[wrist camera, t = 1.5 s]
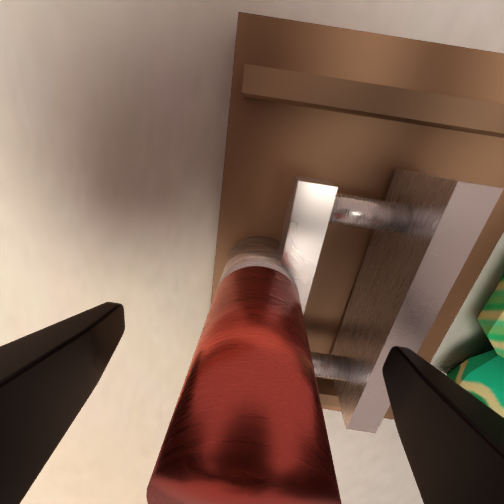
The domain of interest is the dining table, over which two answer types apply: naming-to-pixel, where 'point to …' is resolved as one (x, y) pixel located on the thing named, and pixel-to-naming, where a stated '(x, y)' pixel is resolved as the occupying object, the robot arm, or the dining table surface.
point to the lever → (297, 346)
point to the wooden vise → (354, 146)
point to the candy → (487, 357)
